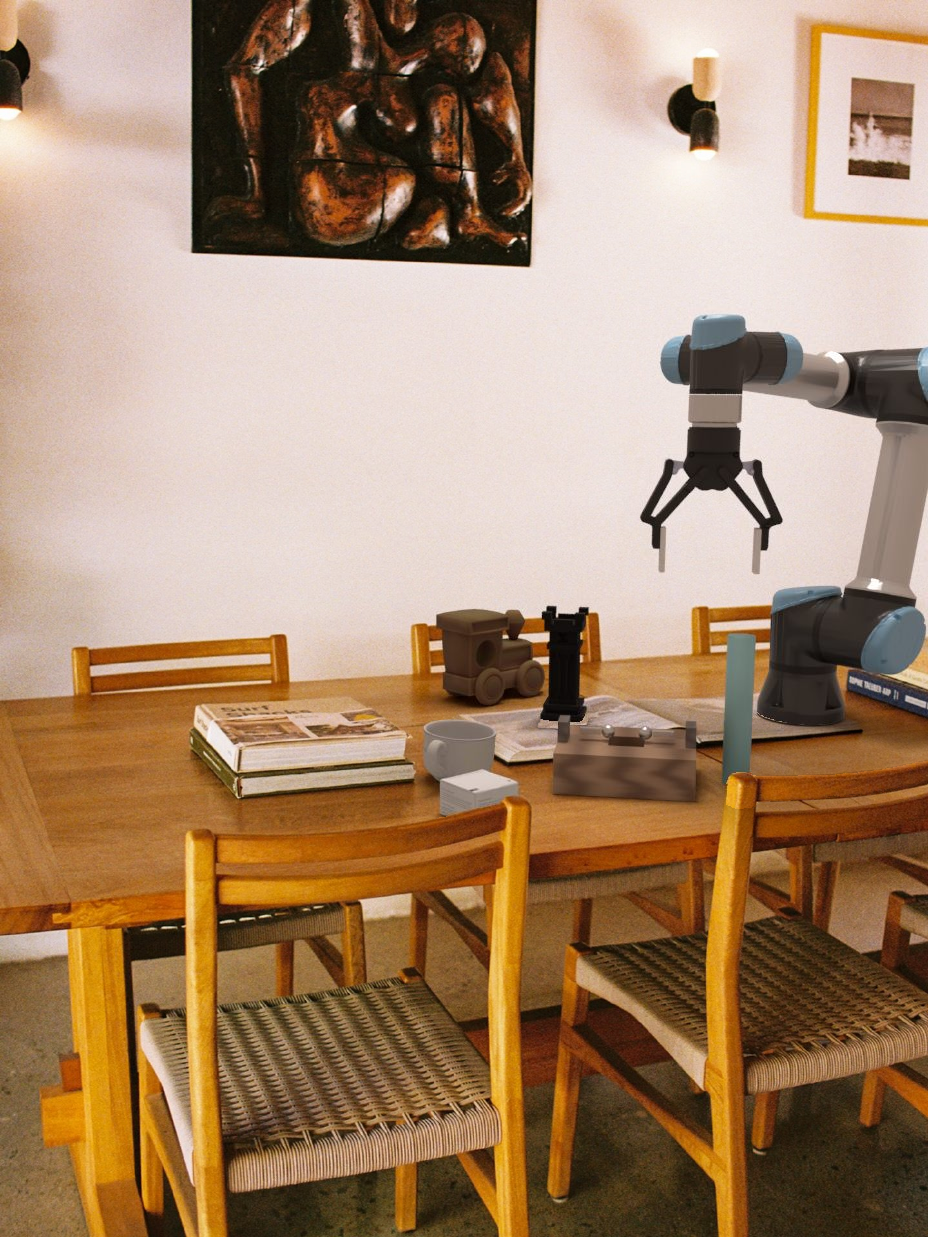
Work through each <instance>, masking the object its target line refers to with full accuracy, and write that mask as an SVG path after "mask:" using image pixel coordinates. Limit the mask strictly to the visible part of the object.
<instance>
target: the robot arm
mask: <svg viewBox="0 0 928 1237" xmlns="http://www.w3.org/2000/svg"><path fill="white" fill-rule="evenodd" d="M659 363H660V369H661V372H662V375H663V376H664V379H666V380H667V381H668V382H669V383H672V384H674V385H683V386H689V390H688V391H689V393H688V394H689V395H688V415H687V421H688V422H689V423H691V426H690V427H688V429H687V437H686V438H687V440H686V441H687V442H686V456H685V458H684V460H677V459H675V460H674V459H672V458H670V457H669V458H665V460H664V462H663V463H664V464H663V470H662V474H661V476H660V478H659V480H658V481H657V484H656V486H655V487H654V489H653V490H652V493H651V494H650V496H649V498H648V500H647V502H646V504H645V506H644V508H643V509H642V512H641V514H640V515H639V518H640V520H641V522H642V523H644V524H648V525H650V526H651V546H652V549H653V550H655V549H656V550H658V565H657V566H658V568H657V569H658V572H659V573H665V572H666V571H665V569H666V544H667V543H666V542H667V527H666V526H665V525H662V524H663V523H664V522H666V520H667V519H668V518H669V517H670V516H671V515H672V514H673V512H675V510H676V509H677V508H678V507H679V506H680V505H681V504H682V502H683V501H684V500H686V498H687V497H688V496H689V495H690V494H691V493H692V492H693V491H694V490H695V489H698V490H699V491H705V492H707V491H711V490H714V491H717V492H724V491H725V490H727V489H730V490H731V492H732V493H733V494H734V495H735V497H736V498H737V500H739V502H740V503H741V504H742V505H743V507H744V508H745V509H746V510H747V512H748V513H749V514H750V516H752V518H753V519H754V520H755V522H756V523H757V524H758V526H759V527H753V535H752V536H753V537H752V539H753V540H752V542H753V543H752V564H751V572H752V573H753V574H754V575H760V571H761V555H762V554H761V552H763V551H766V552H767V551H768V548H769V542H770V540H769V538H770V530H771V528H772V527H775V526H777V525H781V524H782V523H783V521H784V520H783V516H782V514H781V512H780V510H779V508H778V506H777V504H776V501H775V499H774V497H773V495H772V493H771V491H770V488H769V486H768V484H767V482H766V480H765V478H764V473H763V463H762V460H759V459H757V458H756V459H755V458H754V459H753V460H749V461H748V460H747V461H742V460H741V439H742V438H741V437H742V436H741V435H742V434H741V433H742V432H741V431H742V429H740V427H738V424H740V423H741V422H742V415H743V414H742V413H743V412H742V410H743V392H749V393H756V394H764V395H769V396H770V395H771V396H776V397H784V398H791V399H798V400H803V401H807V402H808V404H810V405H812V406H813V407H815V408H817V409H818V408H819V409H824V410H828V411H829V410H830V411H834V412H839V413H842V414H847V415H851V416H855V417H861V418H866V419H872V420H875V419H876V420H875V428H876V429H877V430H878V432H879V433H880V434H881V437H882V440H881V443H880V444H881V445H880V450H879V455H878V462H877V466H876V471H875V476H874V482H873V487H872V492H871V498H870V503H869V508H868V512H867V519H866V524H865V530H864V534H863V539H862V540H863V541H862V545H861V549H860V556H859V560H858V566H857V572H856V575H855V578H854V579H852V580H851V581H850V582H848V583H847V584H845V585H844V589H843V593H842V587H840V586H837V585H813V586H812V585H809V586H795V587H788V588H781V589H779V590H777V591H776V592H775V593H774V595H773V596H772V602H771V603H772V604H771V611H770V612H769V613H770V614H769V615H770V623H769V624H770V629H769V631H770V632H769V658H768V660H769V662H768V671H767V675H766V677H765V681H764V682H763V685H762V687H761V689H760V693H759V694H758V697H757V701H756V713H757V712H758V713H759V714H760V715H763V716H764V717H767V718H770V719H774V720H775V721H774V722H776V721H782V722H787V723H790V724H789V725H795V724H804V725H803V726H820V725H819V724H827V725H832V724H833V725H834V724H838V723H841V722H842V721H844V720H845V717H846V715H845V714H846V713H845V712H846V705H845V701H844V697H843V693H842V689H841V686H840V683H839V678H838V674H837V673H838V666H839V667H844V668H850V669H854V670H859V671H862V672H866V673H869V674H875V675H876V674H879V675H880V674H881V675H889V676H892V675H897V674H898V675H899V674H900V673H903V672H904V671H906V670H908V668H909V667H910V666H911V665H913V664H914V662H915V660H916V659H917V658H918V657H919V655H920V653H921V651H922V649H923V646H924V643H925V639H926V634H927V625H926V623H925V622H926V618H925V617H924V616H925V615H924V614H923V613H922V612H921V611H920V610H919V609H918V608H917V607H916V603H917V599H918V597H917V596H916V594H915V593H914V592H913V590H912V589H911V586H910V584H911V579H912V576H913V575H912V574H913V569H914V564H915V558H916V554H917V548H918V543H919V538H920V532H921V528H922V521H923V517H924V512H925V506H926V502H927V496H928V346H925V347H919V348H918V347H917V348H916V347H915V348H897V349H896V348H895V349H892V348H891V349H871V350H859V351H849V352H837V351H831V350H827V351H822V352H819V353H817V354H812V353H806V352H804V349H803V347H802V344H801V342H800V341H799V339H798V338H797V337H795V336H794V335H792V334H789V333H785V332H784V333H783V332H780V331H748V330H747V328H746V318H745V317H744V316H742V315H739V314H727V313H726V314H720V313H719V314H718V313H717V314H703V315H698V316H697V317H695V318H694V320H693V322H692V327H691V334H685V335H682V336H681V335H680V336H674V337H671V338H670V339H669V340H668V341H666V343H665V344H664V346H663V347H662V348H661V352H660V362H659ZM681 469H683V472H684V473H685V474H686V475H687V477H688V479H687V480H686V481H685V482H684V483H683V485H682V486H681V487H680V488H679V490H678V491H677V492H676V493H675V494H674V495H673V496H672V497H671V498H670V499H669V501H668V502H667V503H665V505H664V506H663V507H662V508H661V510H659V512H658V513H657V514H656V515H655V516H654V515H653V513H654V511H655V509H656V507H657V505H658V504H659V502H660V500H661V498H662V497H663V494H664V492H665V491H666V489H667V487H668V485H669V483H670V481H671V479H672V477H673V476H676V475H677V474H678V473H679V471H680V470H681ZM743 470H745V471H746V474H747V475H749V476H751V477H752V479H753V482H754V483H755V485H756V488H757V491H758V492H759V495H760V497H761V499H762V501H763V504H764V505H765V508H766V511H767V512H768V514H769V517H765V515H764V514H763V513H762V511H761V510H760V509H759V508H758V507H757V506H756V504H755V503H754V501H753V500H752V499H751V497H749V495H748V494H747V493H746V492H745V490H744V489H743V488H742V487H741V485H740V484H739V483H738V481H737V480H736V479H737V478H738V476H739V475H740V474H741V473H742V471H743ZM760 715H759V716H760ZM787 723H786V724H787Z"/></svg>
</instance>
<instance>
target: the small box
mask: <svg viewBox="0 0 928 1237" xmlns="http://www.w3.org/2000/svg"><path fill="white" fill-rule="evenodd" d="M507 796H518V797H519V781H516V780H513V779H512V778H508V777H506V776H502V775H500V774H498V773H497V774H496V773H493V772H491V771H490V772H488V771H486V770H483V769H482V770H478V771H475V772H471V773H466V774H462V775H458V776H454V777H450V778H445V779H441V780H440V781H439V814H440V815H442V816H445V815H450V814H454V813H459V812H462V811H468V810H471V809H476V808H483V807H487V806H492V805H495V804H499V803H500V802H501V801H502V800H503V799H504V798H505V797H507Z"/></svg>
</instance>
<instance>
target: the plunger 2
mask: <svg viewBox="0 0 928 1237" xmlns="http://www.w3.org/2000/svg"><path fill="white" fill-rule="evenodd" d="M639 728H640V729H639V732H638V734H639V737H640V738H641V739H643V740H648V739H650V738H651V736H652V730H651V729H650V727H649V726H646V725H645V726H642V727H639ZM653 737H657V738H674V731H670V730H653Z"/></svg>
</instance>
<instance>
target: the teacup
mask: <svg viewBox="0 0 928 1237" xmlns="http://www.w3.org/2000/svg"><path fill="white" fill-rule="evenodd" d="M422 730H423V743H422V744H423V746H422V747H423V749H422V750H423V751H422V753H423V758H422V759H423V765H424V767H425V769H426V771H427V772H428V773H430V775H432V776H433V779H435V780H436V781H438V782H440V780H441V779H445V778H450V777H454V776H458V775H462V774H466V773H471V772H475V771H478V770H482V769H483V770H486V771H488V772H491V771H492V768H493V764H494V759H495V758H494V757H495V750H496V749H495V748H496V736H497V734H498V731H497V730H496V728H495V727H493V726H491V725H489V724H487V723H484V722H483V723H482V722H479V721H473V720H467V719H439V720H435V721H434V720H433V721H431V722H428V723H426V724H424V726H423V728H422Z"/></svg>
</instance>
